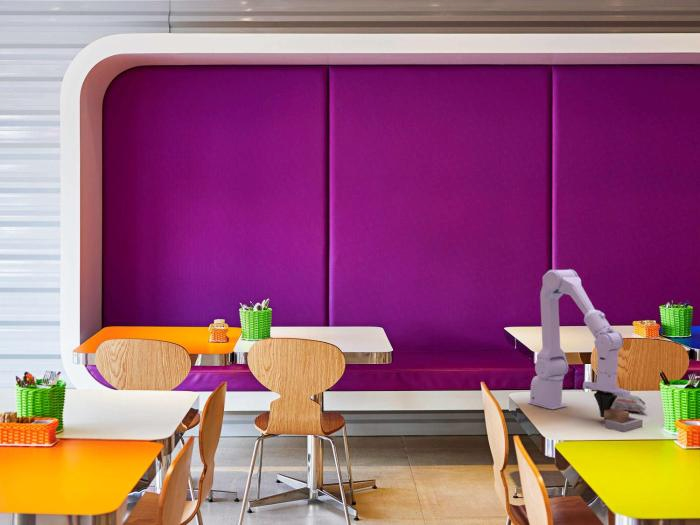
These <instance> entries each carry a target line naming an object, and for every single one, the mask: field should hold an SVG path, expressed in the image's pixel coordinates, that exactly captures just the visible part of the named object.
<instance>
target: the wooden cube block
mask: <svg viewBox="0 0 700 525" xmlns="http://www.w3.org/2000/svg"><path fill="white" fill-rule="evenodd" d="M629 416H630V412H627V411H622V410H619V409H615V408H611V409H609V410H605V411H604V417H603V425H605V420H611V421H615V422H619V423H626V422H628V421H629Z"/></svg>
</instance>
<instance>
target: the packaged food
mask: <svg viewBox="0 0 700 525" xmlns="http://www.w3.org/2000/svg"><path fill="white" fill-rule="evenodd" d="M613 408H615V409H619V410H622V411H626V412H629V413H636V412H637V413H639V412H642V411H646V410H647V406H646V402H645V401H644V400H643V399H641V397H639V396H636V395H633V394H630V398H623V397H621V396H617V398H616V399H615V401H614V403H613V405H612V407H611V409H613Z"/></svg>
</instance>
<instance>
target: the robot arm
mask: <svg viewBox="0 0 700 525" xmlns="http://www.w3.org/2000/svg"><path fill="white" fill-rule="evenodd" d="M564 294H565V295H568V296H570V298H572V300H573V302H575V304H576V305H577V307H578V308H579V309H580V311H581V312H582V314H583V315H584V318H583V322H584V323H585V325H586V326H587V328H588V330H589V331H590V334H592V336H593V337H594V339H595V340H593V341H594V347H595V349H596V350H597V368H596V382H593V381H592V382H591V381H583V384H582V389H584V390H591V391H595V392H594V393H593V396H594V398H595V401H596V403H597V405H598V409H599V410H598V411H599V414H600V418H604V411H605V410H609V409H612V408H611V407H612V405H613V403H614V401H615V399H616V398H617V396H621V397H623V398H630V395H631V390H627V389H624V388H622V387H620V386H617V384H618V383H617V382H618V365H619V352H620V349H621V348H623V346H624V339H623V336H622V333H620V332H619V331H616V330H615V329H614V328H613V327H612V326H611V325H610V323H609V321H608V320H607V319H606V315H605V313H604V312H602V311H601V310H598V309H595V307H594V305H593V304H592V301H591V300H590V299H589V298H590V297H588V294H587V292H586V291H585V289H584V287H583V285H582V280H581V278H580V277H579V275H578V273H577V272H576V271H575V270H574V269H571V268H569V269H549V270H548V271H547V272H546V273H545V274H544V275H543V276H542V286H541V290H540V294H539V295H540V296H539V298H540V317H541V341H542V344H541V345H542V348H541V349H540V351H539V352H538V353H537V354H536V362H535V366H534V370H535V373H536V376H535V375H534V376H533V378H532V380H531V383H530V395H529V398H530V399H529V401H528V404H530V405H535V406H537V407H540V408H541V407H542V408H545V409H549V410H557V409H561V408H565V407H568V406H567V404H565V403H562V397H563V382H564V379H565V375H566V374H567V373H568V371H569V363H568V361H567V357H566V353H565V351H564V350H563V349H562V348H561V337H560V336H561V335H560V314H559V312H560V311H559V310H560V307H559V300H560V298H561V297H562V296H563V295H564Z"/></svg>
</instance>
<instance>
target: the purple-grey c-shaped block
mask: <svg viewBox="0 0 700 525" xmlns="http://www.w3.org/2000/svg"><path fill="white" fill-rule="evenodd" d="M643 422H644V420H643V419H641V418H637V417H633V416H630V415H629V421H628V422H626V423H619V422H615V421H611V420H605V424H604V428H608V429H610V430H614V429H615V431H618V432H623V433H624V432H628V431H631V430H634V429H638V428H641V427H643Z"/></svg>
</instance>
